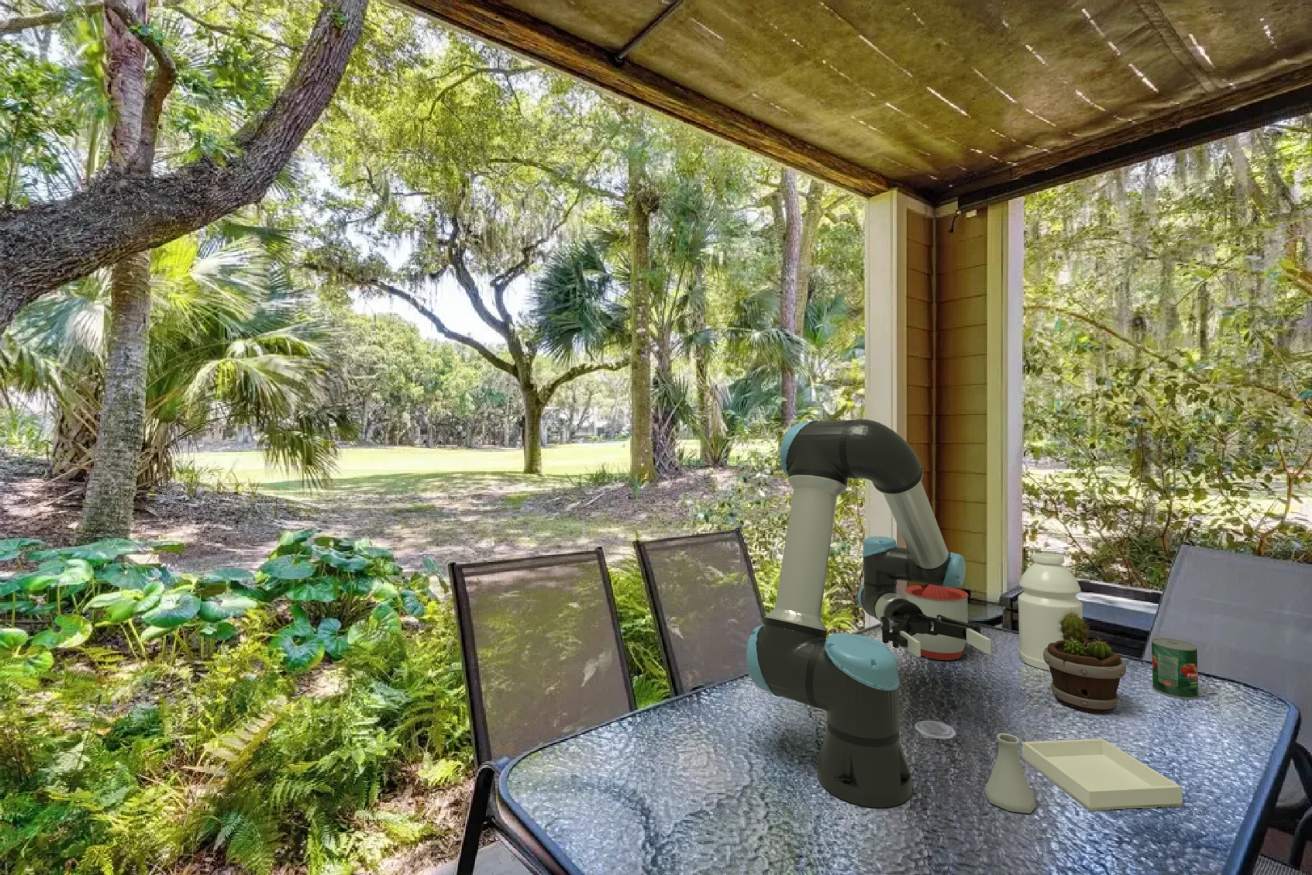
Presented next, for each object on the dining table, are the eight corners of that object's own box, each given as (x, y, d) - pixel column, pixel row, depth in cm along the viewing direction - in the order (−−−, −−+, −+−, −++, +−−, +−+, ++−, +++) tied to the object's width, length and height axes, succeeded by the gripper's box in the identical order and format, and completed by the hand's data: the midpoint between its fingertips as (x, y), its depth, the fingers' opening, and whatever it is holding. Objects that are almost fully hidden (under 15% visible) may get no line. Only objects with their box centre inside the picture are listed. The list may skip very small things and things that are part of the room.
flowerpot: (1145, 721, 119) (1142, 623, 119) (1061, 715, 122) (1058, 619, 122) (1105, 692, 133) (1103, 604, 133) (1031, 687, 136) (1029, 601, 136)
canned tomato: (1203, 702, 127) (1201, 651, 128) (1156, 694, 132) (1154, 645, 132) (1193, 689, 134) (1192, 641, 134) (1149, 682, 138) (1148, 635, 139)
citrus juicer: (958, 644, 166) (957, 573, 167) (977, 666, 149) (976, 588, 150) (900, 640, 170) (899, 571, 170) (912, 662, 153) (910, 585, 153)
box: (1089, 811, 90) (1089, 791, 90) (1022, 758, 105) (1022, 742, 106) (1182, 806, 91) (1181, 787, 91) (1102, 755, 106) (1102, 738, 106)
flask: (1037, 820, 88) (1035, 753, 88) (982, 805, 92) (981, 741, 92) (1036, 795, 94) (1034, 733, 95) (984, 782, 98) (983, 723, 98)
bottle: (1006, 657, 155) (1004, 552, 156) (1042, 650, 160) (1040, 548, 161) (1059, 677, 142) (1057, 561, 142) (1097, 668, 147) (1094, 557, 147)
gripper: (954, 629, 131) (1018, 665, 110) (845, 633, 129) (889, 671, 108) (953, 596, 131) (1017, 625, 110) (844, 599, 130) (888, 630, 108)
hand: (953, 648), depth 109 cm, fingers open, 13 cm apart
